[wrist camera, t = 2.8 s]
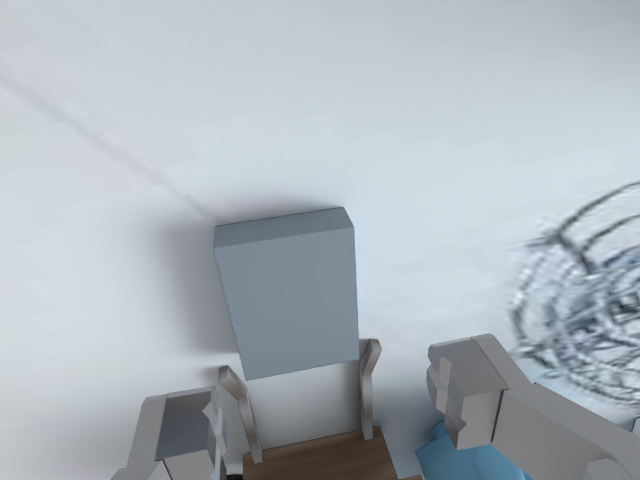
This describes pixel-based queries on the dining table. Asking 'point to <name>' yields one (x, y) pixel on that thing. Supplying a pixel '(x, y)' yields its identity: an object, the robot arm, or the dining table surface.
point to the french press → (234, 477)
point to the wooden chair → (319, 441)
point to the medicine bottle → (636, 427)
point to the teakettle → (464, 461)
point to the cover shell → (290, 290)
